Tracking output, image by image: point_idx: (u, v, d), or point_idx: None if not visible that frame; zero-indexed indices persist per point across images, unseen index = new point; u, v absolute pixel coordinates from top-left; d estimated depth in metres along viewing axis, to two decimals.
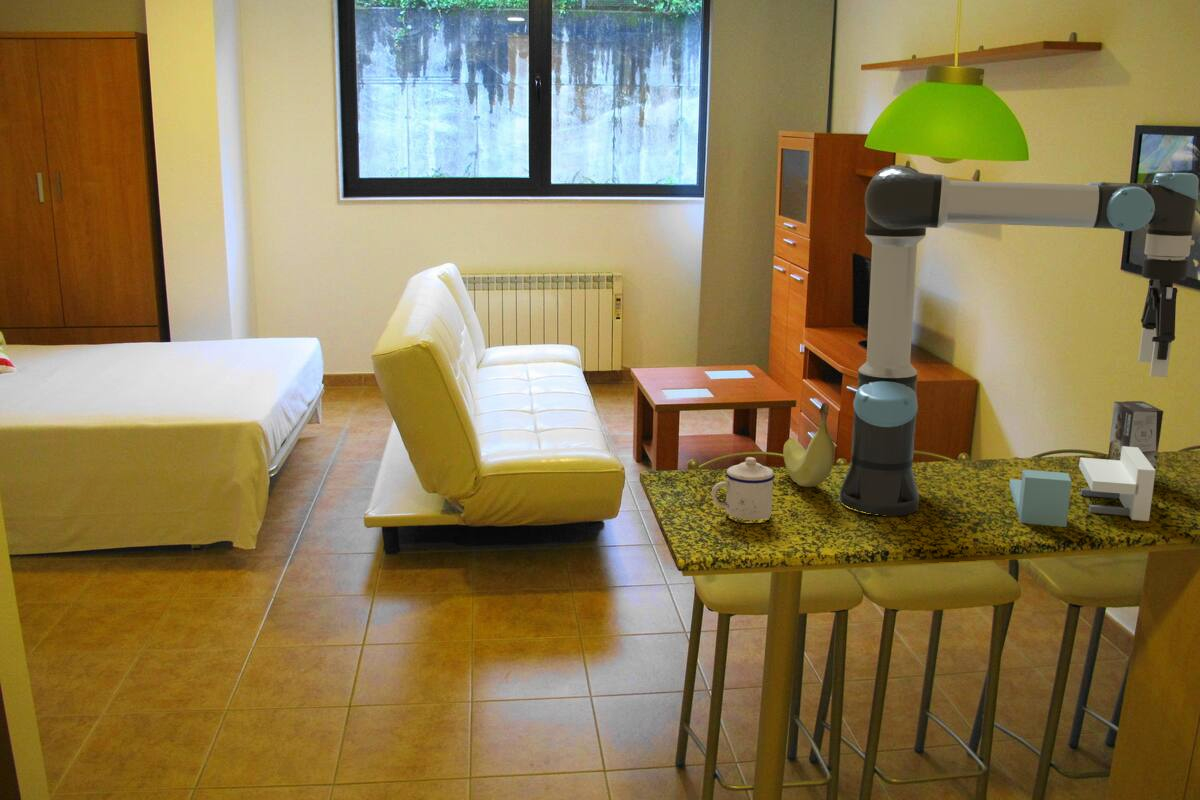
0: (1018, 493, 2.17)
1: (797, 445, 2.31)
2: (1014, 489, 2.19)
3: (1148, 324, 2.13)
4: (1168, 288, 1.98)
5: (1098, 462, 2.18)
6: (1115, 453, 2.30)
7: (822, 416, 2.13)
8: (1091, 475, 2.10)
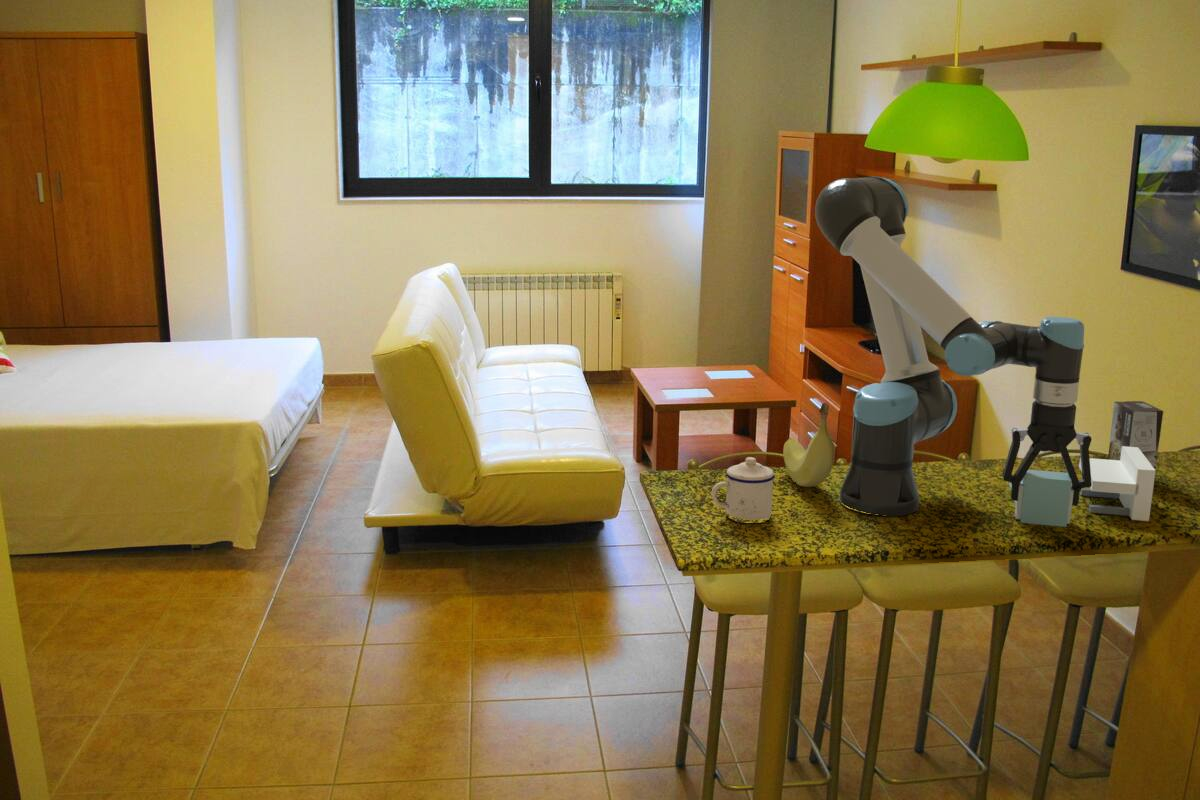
0: None
1: (797, 445, 2.31)
2: None
3: None
4: (1013, 430, 2.04)
5: (1098, 462, 2.18)
6: (1115, 453, 2.30)
7: (822, 416, 2.13)
8: (1091, 475, 2.10)
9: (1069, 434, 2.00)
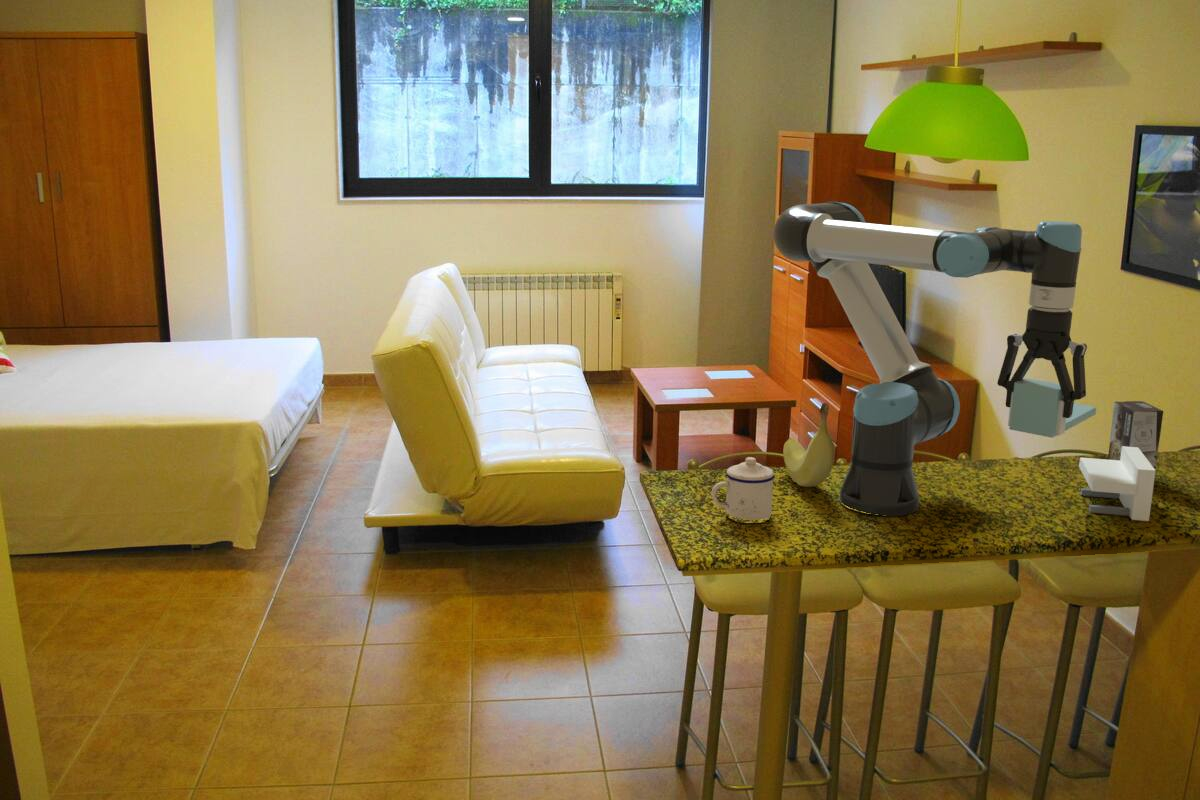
0: None
1: (797, 445, 2.31)
2: None
3: None
4: None
5: (1098, 462, 2.18)
6: (1115, 453, 2.30)
7: (822, 416, 2.13)
8: (1091, 475, 2.10)
9: (1061, 342, 1.96)
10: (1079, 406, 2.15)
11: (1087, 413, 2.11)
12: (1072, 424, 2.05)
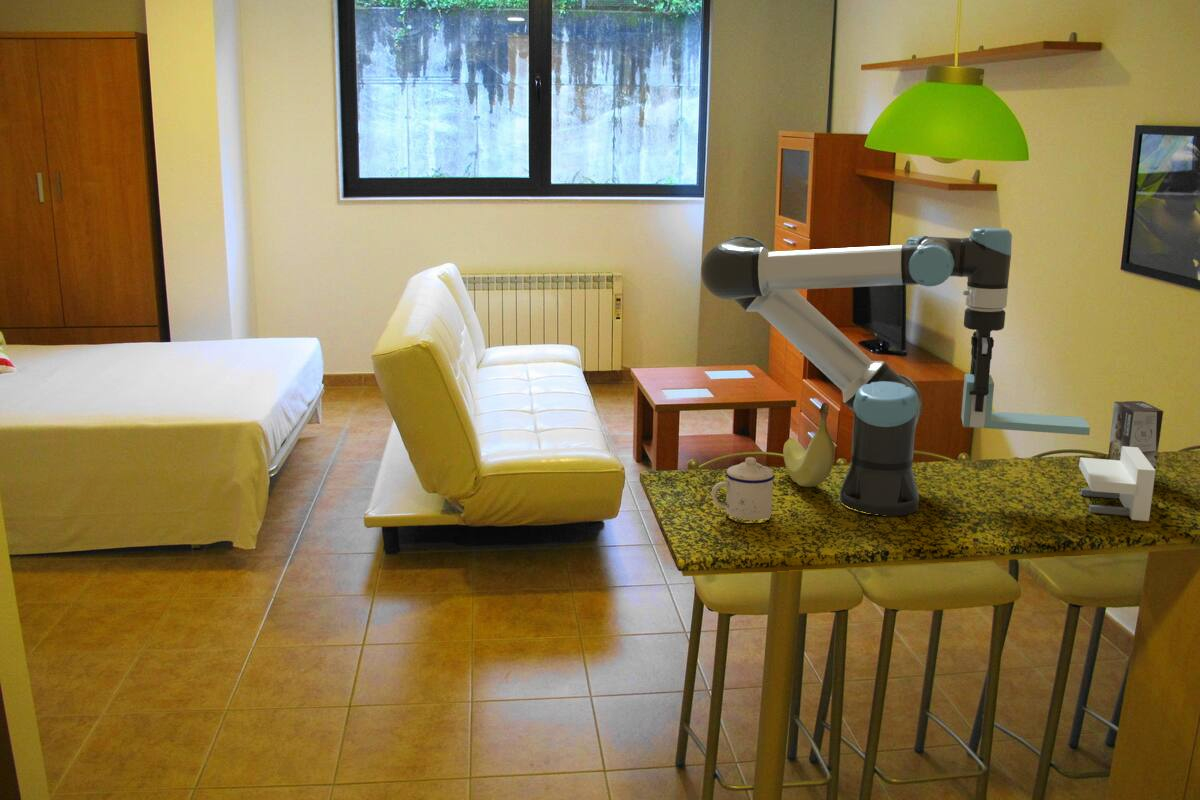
0: (1032, 415, 2.18)
1: (797, 445, 2.31)
2: (1045, 415, 2.18)
3: None
4: None
5: (1098, 462, 2.18)
6: (1115, 453, 2.30)
7: (822, 416, 2.13)
8: (1091, 475, 2.10)
9: (977, 339, 2.11)
10: (1076, 423, 2.11)
11: (1061, 427, 2.10)
12: (1017, 427, 2.12)
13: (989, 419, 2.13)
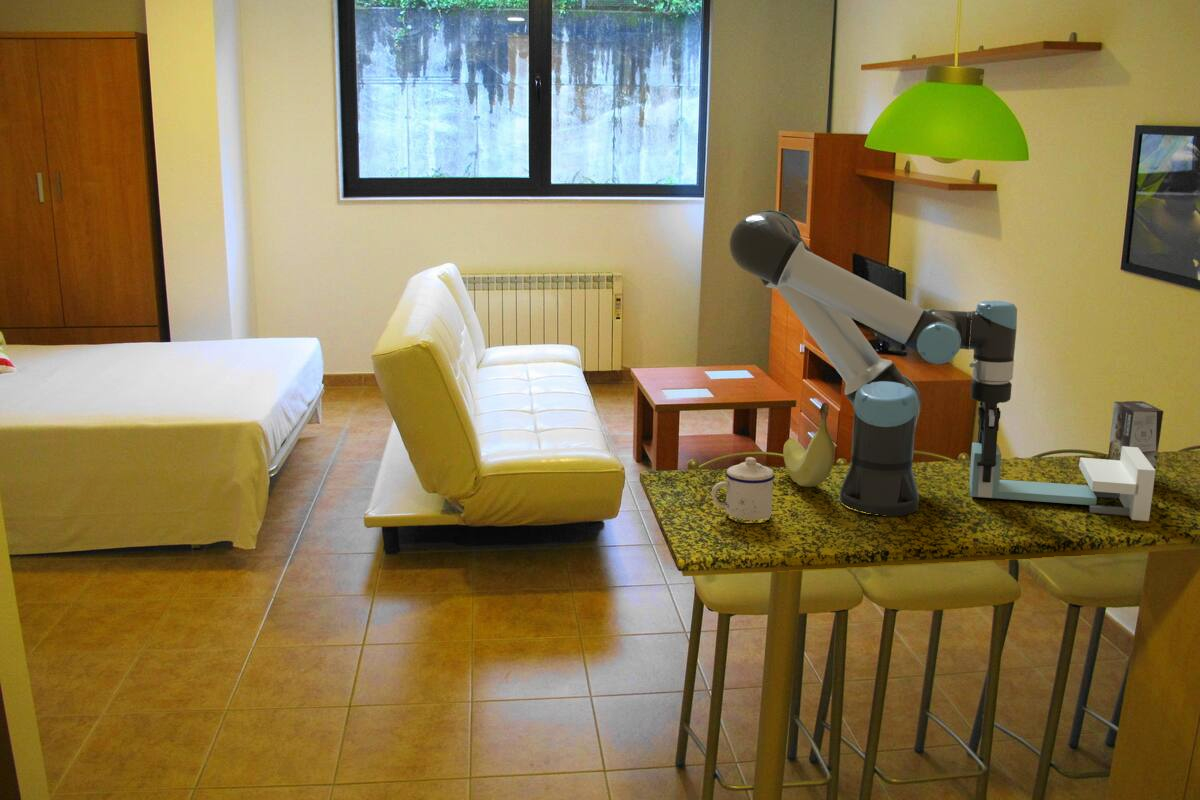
0: (1039, 483, 2.20)
1: (797, 445, 2.31)
2: (1052, 483, 2.20)
3: None
4: None
5: (1098, 462, 2.18)
6: (1115, 453, 2.30)
7: (822, 416, 2.13)
8: (1091, 475, 2.10)
9: (984, 411, 2.14)
10: (1083, 493, 2.14)
11: (1068, 497, 2.12)
12: (1025, 497, 2.15)
13: (997, 489, 2.16)
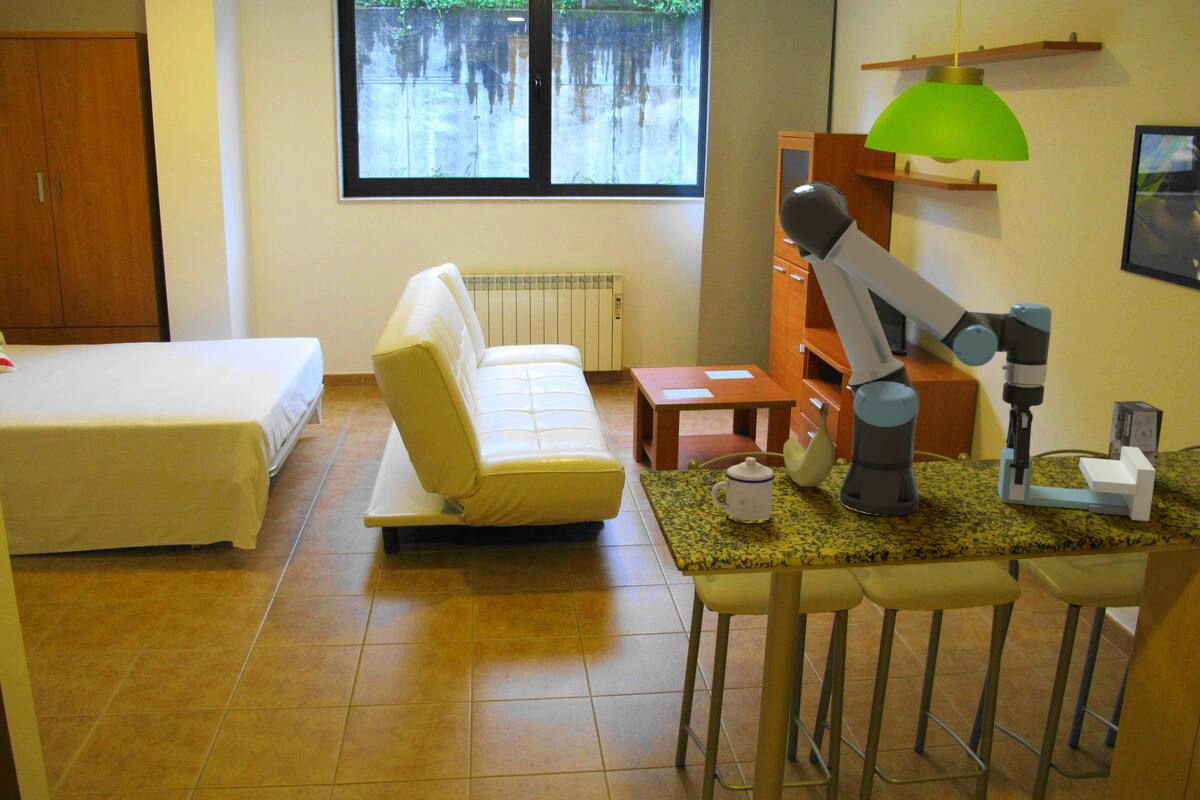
0: (1069, 489, 2.19)
1: (797, 445, 2.31)
2: (1082, 490, 2.19)
3: None
4: None
5: (1098, 462, 2.18)
6: (1115, 453, 2.30)
7: (822, 416, 2.13)
8: (1091, 475, 2.10)
9: (1016, 414, 2.12)
10: (1114, 500, 2.13)
11: None
12: (1055, 504, 2.13)
13: (1027, 495, 2.14)
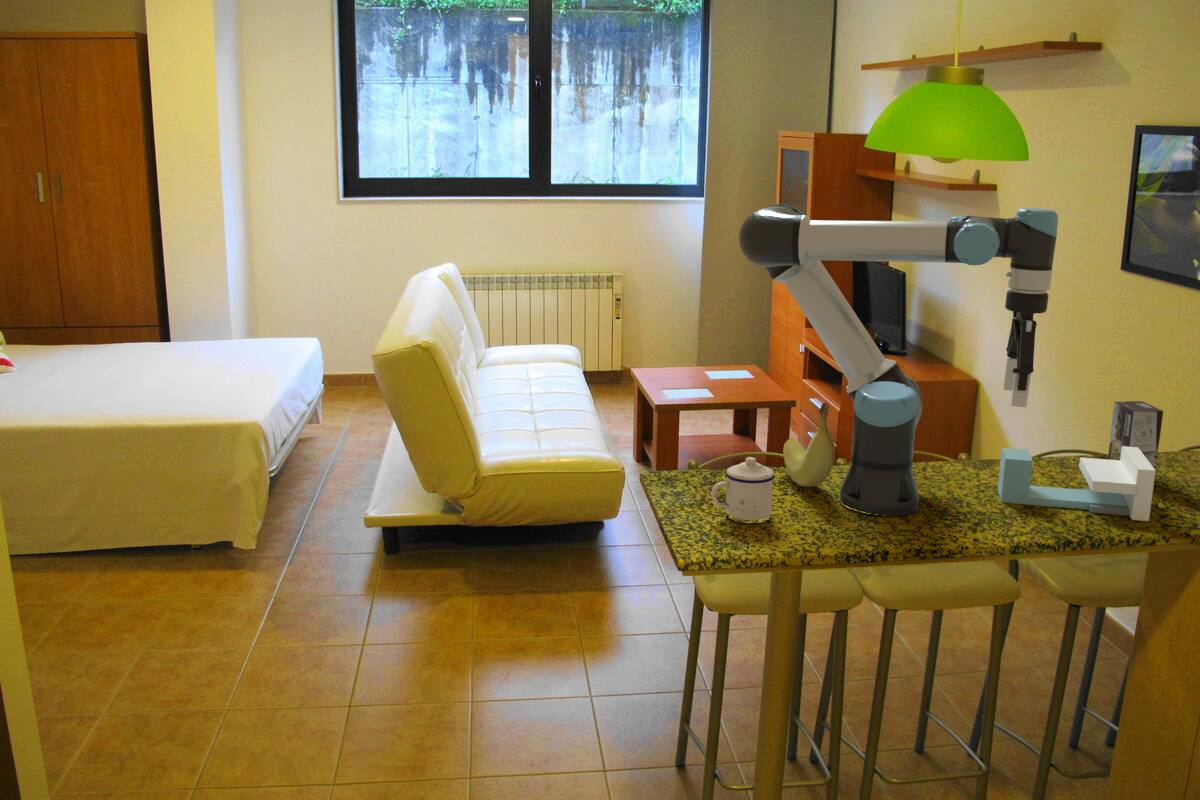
0: (1069, 489, 2.19)
1: (797, 445, 2.31)
2: (1082, 490, 2.19)
3: None
4: None
5: (1098, 462, 2.18)
6: (1115, 453, 2.30)
7: (822, 416, 2.13)
8: (1091, 475, 2.10)
9: (1020, 322, 2.08)
10: (1114, 500, 2.13)
11: None
12: (1055, 504, 2.13)
13: (1027, 495, 2.14)
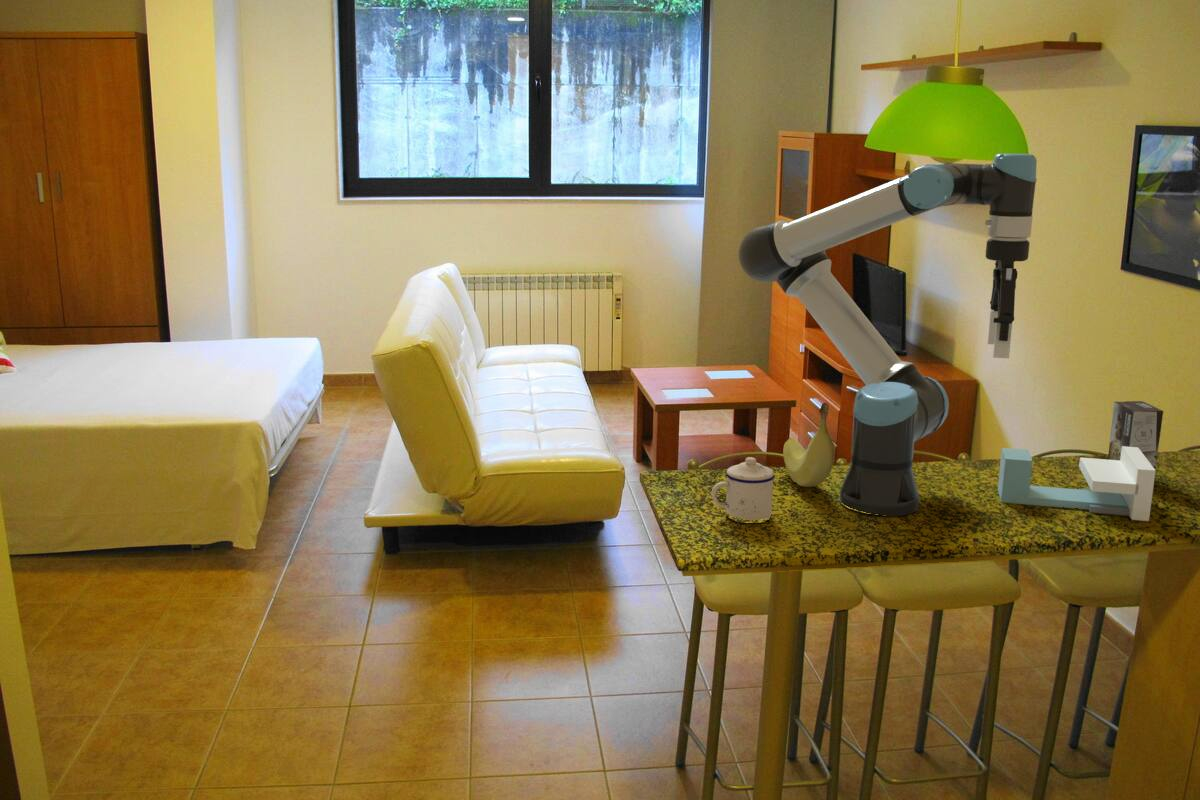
0: (1069, 489, 2.19)
1: (797, 445, 2.31)
2: (1082, 490, 2.19)
3: None
4: None
5: (1098, 462, 2.18)
6: (1115, 453, 2.30)
7: (822, 416, 2.13)
8: (1091, 475, 2.10)
9: (1000, 270, 2.02)
10: (1114, 500, 2.13)
11: None
12: (1055, 504, 2.13)
13: (1027, 495, 2.14)
